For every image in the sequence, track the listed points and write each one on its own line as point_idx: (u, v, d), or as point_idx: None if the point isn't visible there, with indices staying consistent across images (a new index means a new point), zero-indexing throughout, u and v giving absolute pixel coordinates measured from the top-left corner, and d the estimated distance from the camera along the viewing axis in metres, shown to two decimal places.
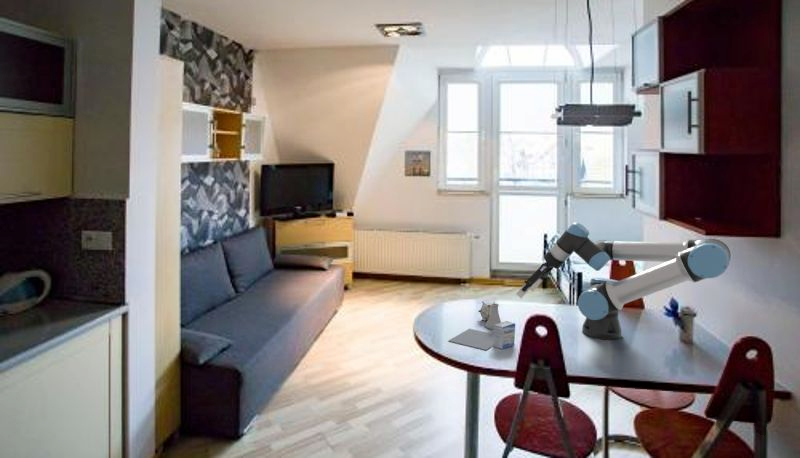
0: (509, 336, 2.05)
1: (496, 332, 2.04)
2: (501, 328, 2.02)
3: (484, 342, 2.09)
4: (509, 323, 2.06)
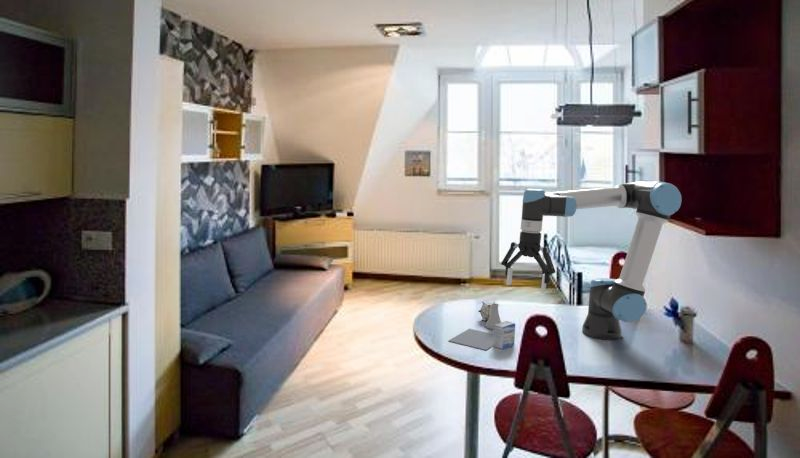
0: (509, 336, 2.05)
1: (496, 332, 2.04)
2: (501, 328, 2.02)
3: (484, 342, 2.09)
4: (509, 323, 2.06)
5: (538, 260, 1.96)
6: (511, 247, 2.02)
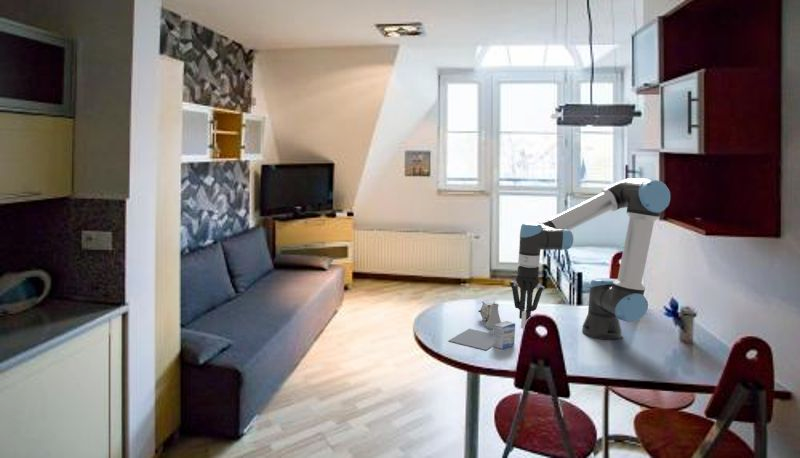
0: (509, 336, 2.05)
1: (496, 332, 2.04)
2: (501, 328, 2.02)
3: (484, 342, 2.09)
4: (509, 323, 2.06)
5: (528, 296, 1.98)
6: (512, 287, 2.01)
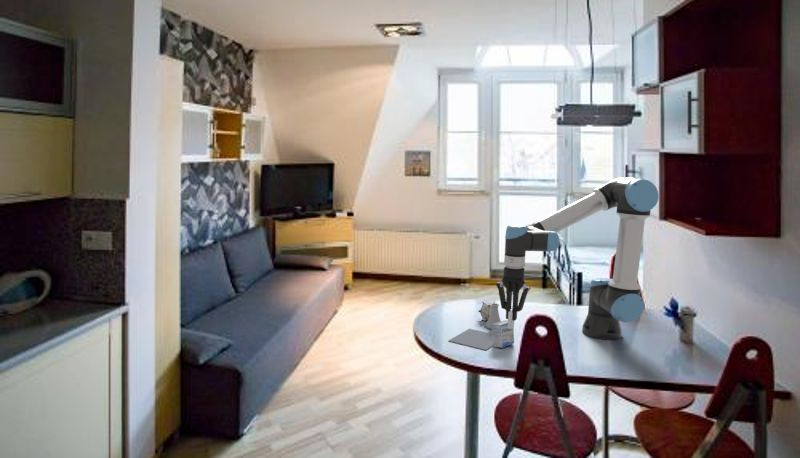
0: (508, 334, 2.06)
1: (494, 331, 2.05)
2: (499, 326, 2.03)
3: (484, 342, 2.09)
4: (507, 322, 2.07)
5: (514, 297, 2.01)
6: (499, 288, 2.04)
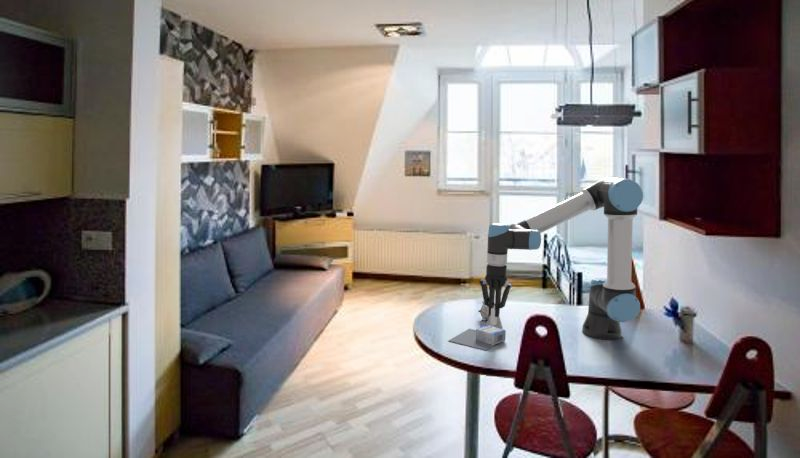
0: (492, 329, 2.11)
1: (480, 337, 2.10)
2: (477, 330, 2.11)
3: (484, 342, 2.09)
4: None
5: (497, 294, 2.05)
6: (482, 285, 2.08)
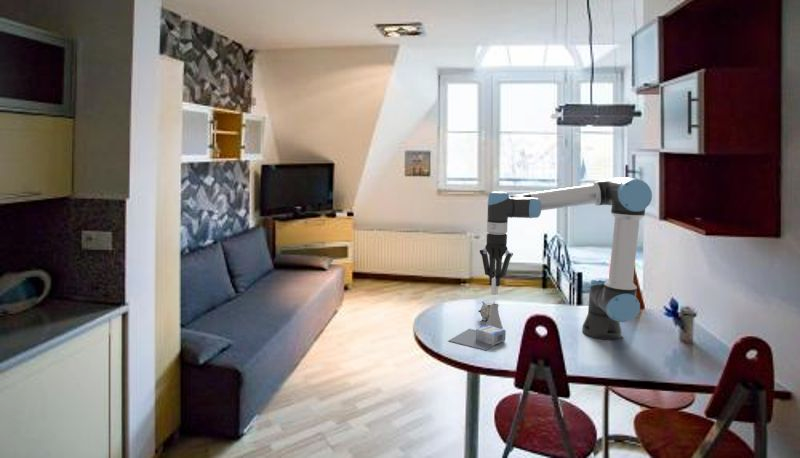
0: (492, 329, 2.11)
1: (480, 337, 2.10)
2: (477, 330, 2.11)
3: (484, 342, 2.09)
4: None
5: (497, 263, 2.04)
6: (482, 254, 2.07)
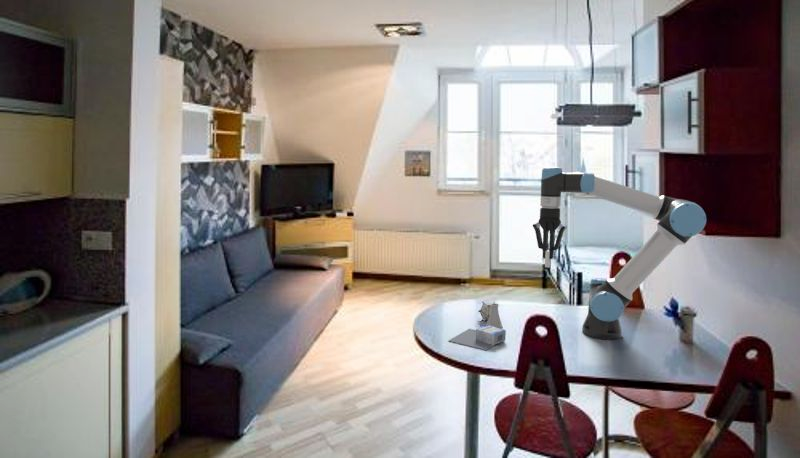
0: (492, 329, 2.11)
1: (480, 337, 2.10)
2: (477, 330, 2.11)
3: (484, 342, 2.09)
4: None
5: (551, 236, 2.10)
6: (535, 228, 2.13)
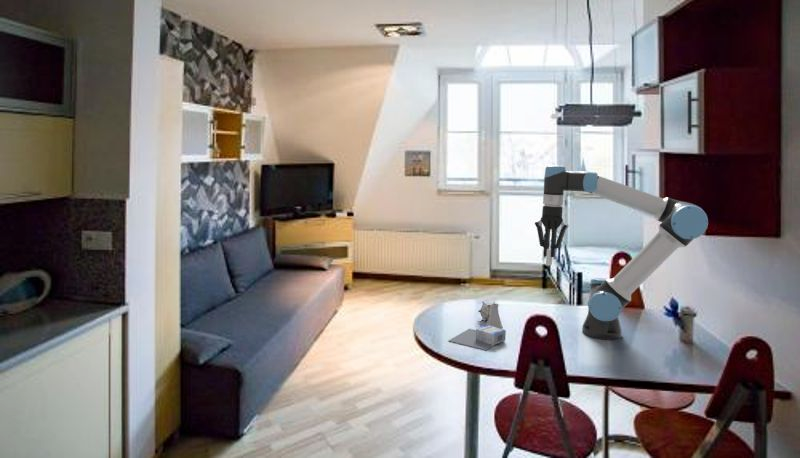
0: (492, 329, 2.11)
1: (480, 337, 2.10)
2: (477, 330, 2.11)
3: (484, 342, 2.09)
4: None
5: (553, 234, 2.11)
6: (537, 226, 2.14)
